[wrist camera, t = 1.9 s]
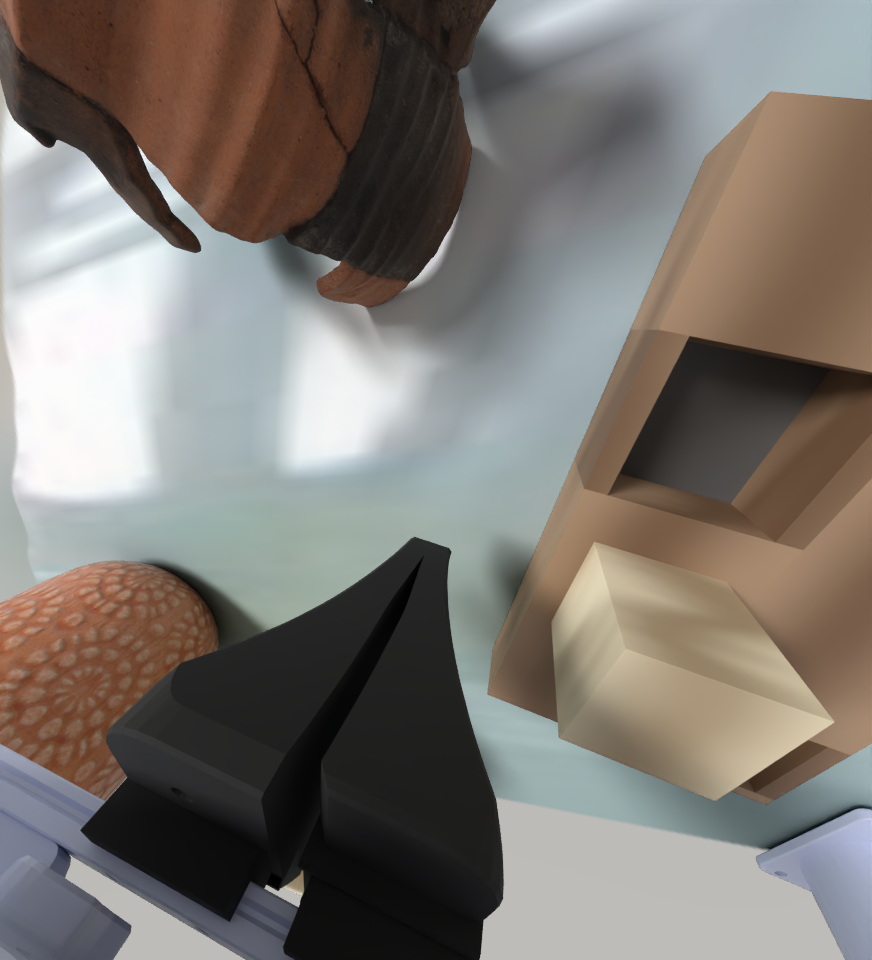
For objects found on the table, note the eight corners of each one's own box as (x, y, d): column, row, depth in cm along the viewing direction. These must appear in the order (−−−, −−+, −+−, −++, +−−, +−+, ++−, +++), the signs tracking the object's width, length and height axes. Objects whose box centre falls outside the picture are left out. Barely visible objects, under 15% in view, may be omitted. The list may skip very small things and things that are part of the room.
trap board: (1373, 235, 6) (1834, 183, 4) (732, 737, 15) (765, 804, 13) (705, 156, 8) (770, 92, 6) (492, 648, 17) (487, 694, 15)
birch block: (727, 582, 10) (834, 722, 6) (660, 659, 12) (715, 800, 8) (594, 541, 10) (625, 648, 7) (551, 621, 12) (558, 738, 9)
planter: (131, 625, 28) (-72, 774, 19) (88, 513, 23) (-236, 648, 13) (250, 680, 27) (93, 875, 17) (237, 574, 21) (-12, 781, 11)
